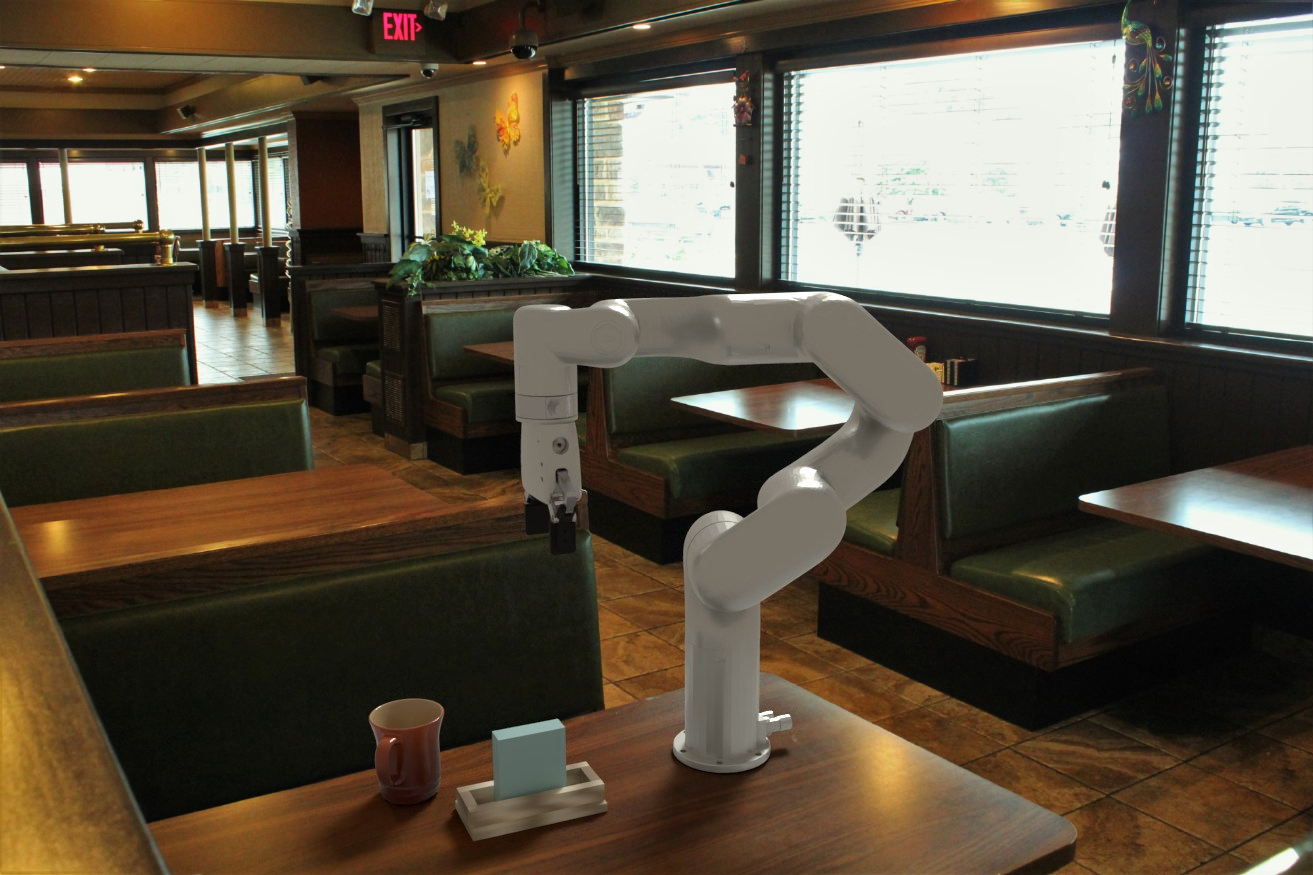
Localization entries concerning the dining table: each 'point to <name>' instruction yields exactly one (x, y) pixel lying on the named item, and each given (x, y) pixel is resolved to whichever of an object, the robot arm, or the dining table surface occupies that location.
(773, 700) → the dining table surface
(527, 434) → the robot arm
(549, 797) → the pale wooden tray
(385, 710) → the mug
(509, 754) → the door panel
